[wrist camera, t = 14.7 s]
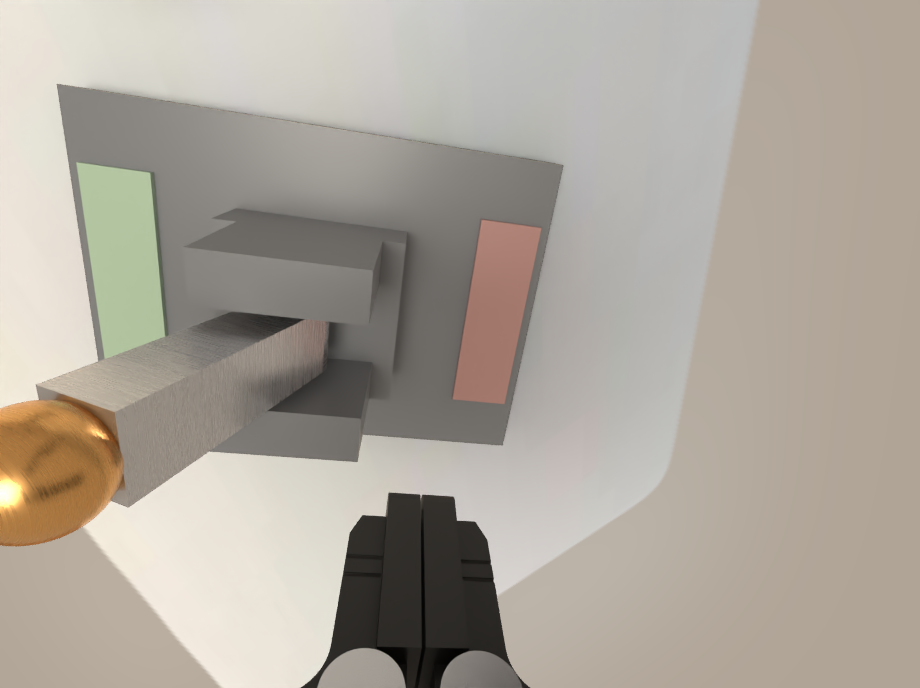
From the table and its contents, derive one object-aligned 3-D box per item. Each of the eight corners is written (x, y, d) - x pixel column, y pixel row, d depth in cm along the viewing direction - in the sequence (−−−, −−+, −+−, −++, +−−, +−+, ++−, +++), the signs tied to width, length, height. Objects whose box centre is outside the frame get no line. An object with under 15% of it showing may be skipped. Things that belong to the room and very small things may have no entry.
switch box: (86, 88, 22) (-150, 54, 13) (552, 163, 25) (631, 178, 16) (126, 396, 28) (-15, 522, 19) (497, 427, 31) (531, 549, 22)
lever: (283, 282, 21) (-127, 424, 9) (349, 299, 20) (-5, 474, 9) (282, 350, 22) (-82, 549, 11) (345, 368, 21) (29, 601, 10)
